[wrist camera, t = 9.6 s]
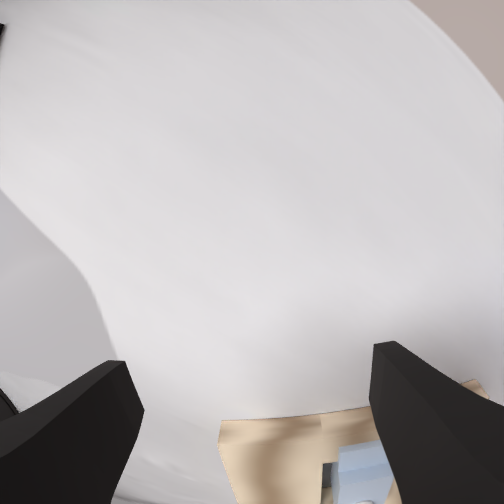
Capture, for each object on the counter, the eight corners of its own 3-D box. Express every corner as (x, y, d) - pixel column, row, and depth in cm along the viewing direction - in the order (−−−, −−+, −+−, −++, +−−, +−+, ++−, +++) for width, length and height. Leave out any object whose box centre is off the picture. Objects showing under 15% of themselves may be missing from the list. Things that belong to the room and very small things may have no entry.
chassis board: (475, 379, 19) (489, 397, 17) (436, 475, 23) (443, 491, 20) (221, 420, 21) (217, 445, 18) (247, 505, 24) (246, 524, 22)
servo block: (385, 412, 20) (403, 460, 15) (369, 484, 23) (378, 523, 18) (333, 421, 20) (343, 473, 16) (329, 491, 23) (334, 532, 18)
